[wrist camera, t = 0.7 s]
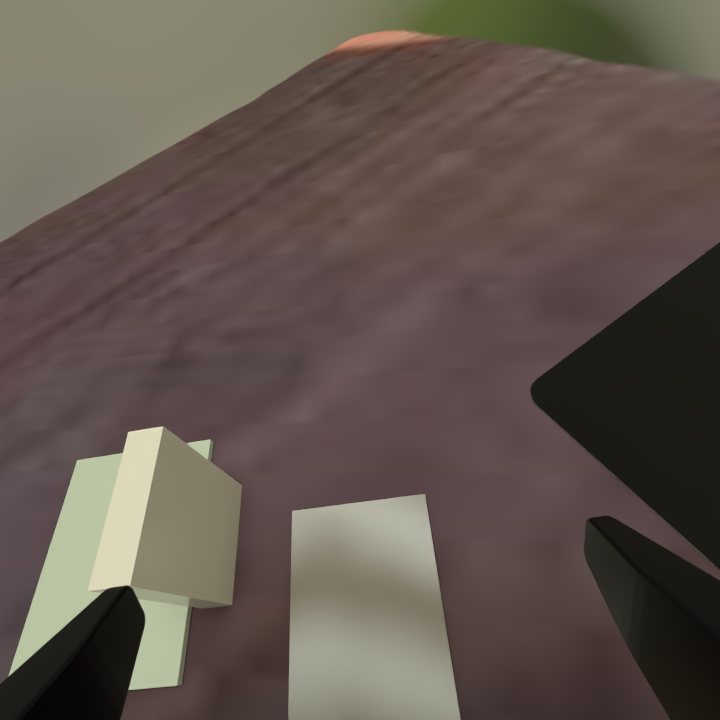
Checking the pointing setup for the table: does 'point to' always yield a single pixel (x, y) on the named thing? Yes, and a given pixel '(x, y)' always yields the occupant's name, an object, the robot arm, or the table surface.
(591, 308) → the table surface
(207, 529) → the tile
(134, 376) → the table surface
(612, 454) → the tablet
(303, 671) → the turner
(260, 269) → the table surface
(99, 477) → the mat
